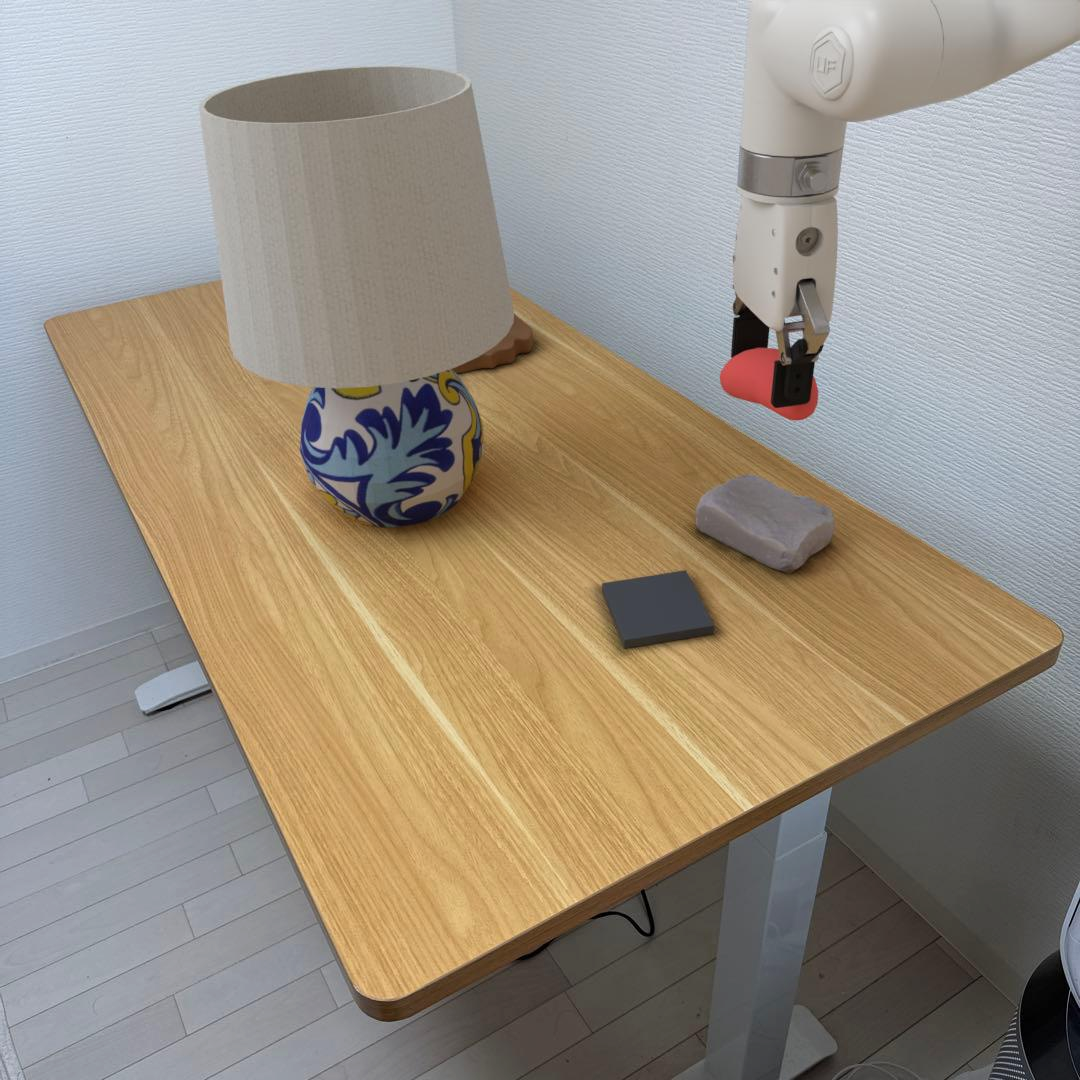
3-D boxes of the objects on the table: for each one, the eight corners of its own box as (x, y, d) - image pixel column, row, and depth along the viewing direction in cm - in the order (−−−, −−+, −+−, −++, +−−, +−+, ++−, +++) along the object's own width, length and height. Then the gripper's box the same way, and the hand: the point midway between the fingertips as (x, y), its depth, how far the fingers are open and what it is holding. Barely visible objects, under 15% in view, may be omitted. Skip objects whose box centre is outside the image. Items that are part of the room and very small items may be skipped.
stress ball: (774, 392, 89) (743, 335, 86) (843, 394, 81) (812, 331, 78) (736, 427, 87) (703, 370, 85) (803, 432, 79) (769, 370, 77)
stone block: (744, 505, 102) (684, 529, 95) (754, 464, 99) (694, 486, 93) (840, 556, 95) (783, 585, 88) (854, 513, 92) (796, 539, 86)
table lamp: (288, 440, 114) (203, 73, 91) (515, 419, 116) (488, 52, 92) (257, 580, 92) (133, 143, 69) (537, 552, 94) (510, 114, 70)
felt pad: (685, 578, 89) (686, 569, 89) (713, 634, 83) (714, 625, 82) (601, 591, 89) (601, 583, 88) (624, 648, 82) (624, 640, 82)
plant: (366, 334, 138) (354, 258, 132) (491, 306, 145) (485, 232, 138) (411, 389, 124) (399, 306, 117) (548, 356, 130) (544, 275, 123)
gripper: (891, 197, 66) (856, 421, 76) (789, 139, 80) (770, 335, 90) (788, 209, 65) (765, 435, 75) (702, 148, 79) (693, 345, 89)
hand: (768, 379), depth 82 cm, fingers closed on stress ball, 8 cm apart
